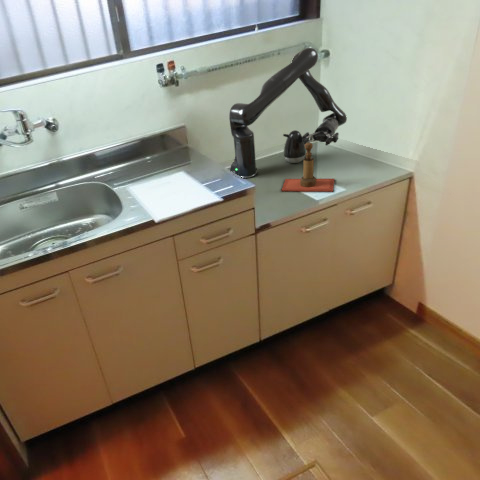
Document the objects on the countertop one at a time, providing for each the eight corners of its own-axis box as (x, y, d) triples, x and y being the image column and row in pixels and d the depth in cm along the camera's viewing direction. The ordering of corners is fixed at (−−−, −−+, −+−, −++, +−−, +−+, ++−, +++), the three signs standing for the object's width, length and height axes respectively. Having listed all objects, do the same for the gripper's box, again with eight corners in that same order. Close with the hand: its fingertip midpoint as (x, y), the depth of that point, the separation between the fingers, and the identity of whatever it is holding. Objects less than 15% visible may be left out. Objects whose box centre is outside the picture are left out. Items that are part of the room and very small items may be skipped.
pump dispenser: (281, 159, 201) (280, 129, 193) (302, 156, 199) (302, 125, 192) (286, 166, 192) (285, 135, 184) (308, 163, 191) (308, 131, 183)
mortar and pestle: (317, 186, 166) (318, 144, 157) (300, 187, 168) (300, 146, 159) (315, 180, 172) (316, 139, 163) (299, 181, 174) (299, 141, 165)
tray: (281, 191, 170) (281, 190, 169) (285, 180, 179) (285, 178, 179) (332, 192, 161) (332, 190, 161) (334, 179, 171) (334, 178, 170)
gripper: (309, 122, 183) (298, 134, 172) (343, 122, 176) (334, 134, 165) (309, 139, 187) (298, 151, 176) (342, 139, 179) (333, 152, 168)
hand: (315, 143), depth 170 cm, fingers open, 8 cm apart
